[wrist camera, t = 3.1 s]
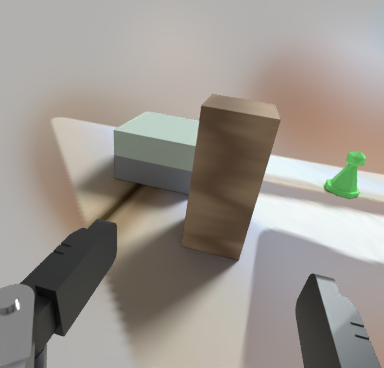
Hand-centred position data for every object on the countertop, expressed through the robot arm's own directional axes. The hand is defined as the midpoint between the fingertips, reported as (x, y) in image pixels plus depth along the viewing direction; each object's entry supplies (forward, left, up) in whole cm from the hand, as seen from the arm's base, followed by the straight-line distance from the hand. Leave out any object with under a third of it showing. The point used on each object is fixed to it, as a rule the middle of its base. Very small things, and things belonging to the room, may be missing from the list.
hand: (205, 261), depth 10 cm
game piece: (-16, -27, -8) cm, 33 cm away
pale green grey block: (+8, -22, -8) cm, 25 cm away
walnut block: (0, -11, -8) cm, 14 cm away
